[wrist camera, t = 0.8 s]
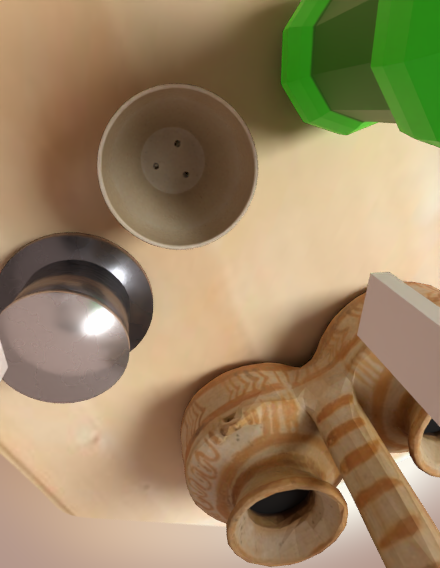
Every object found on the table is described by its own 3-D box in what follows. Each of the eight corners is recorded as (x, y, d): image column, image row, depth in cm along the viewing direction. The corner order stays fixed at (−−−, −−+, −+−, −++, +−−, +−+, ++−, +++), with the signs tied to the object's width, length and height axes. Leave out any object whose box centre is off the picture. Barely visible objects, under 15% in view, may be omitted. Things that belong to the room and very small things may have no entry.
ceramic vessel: (427, 234, 37) (861, 427, 14) (465, 354, 45) (778, 596, 23) (144, 405, 39) (138, 786, 17) (229, 488, 48) (299, 819, 25)
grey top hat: (-20, 236, 29) (-71, 274, 22) (147, 228, 31) (147, 261, 24) (18, 368, 35) (-14, 431, 28) (157, 354, 37) (159, 410, 30)
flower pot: (191, 242, 32) (202, 275, 26) (85, 178, 29) (66, 197, 22) (259, 143, 30) (289, 152, 23) (151, 58, 26) (153, 41, 20)
